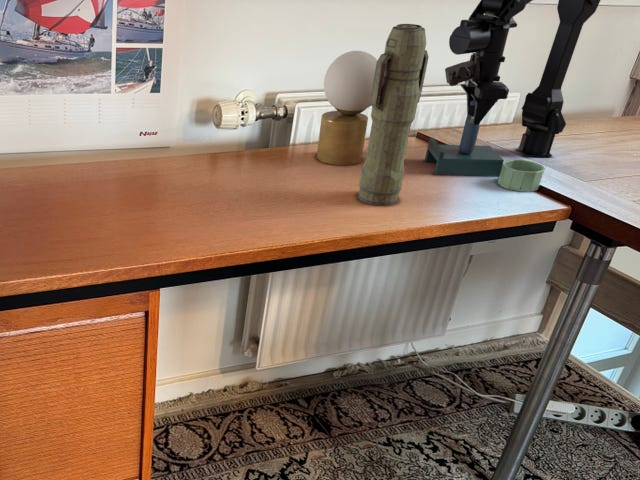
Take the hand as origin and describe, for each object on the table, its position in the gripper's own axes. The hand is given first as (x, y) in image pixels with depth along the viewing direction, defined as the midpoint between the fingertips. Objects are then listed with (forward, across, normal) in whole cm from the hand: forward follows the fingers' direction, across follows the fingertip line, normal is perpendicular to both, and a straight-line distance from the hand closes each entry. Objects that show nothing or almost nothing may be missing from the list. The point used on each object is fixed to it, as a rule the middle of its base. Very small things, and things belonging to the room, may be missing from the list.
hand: (472, 121), depth 165 cm
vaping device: (+7, 0, 0) cm, 7 cm away
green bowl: (+11, +11, +10) cm, 19 cm away
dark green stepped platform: (+11, 0, 0) cm, 11 cm away
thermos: (+11, +22, -24) cm, 35 cm away
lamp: (+11, -7, -28) cm, 31 cm away
